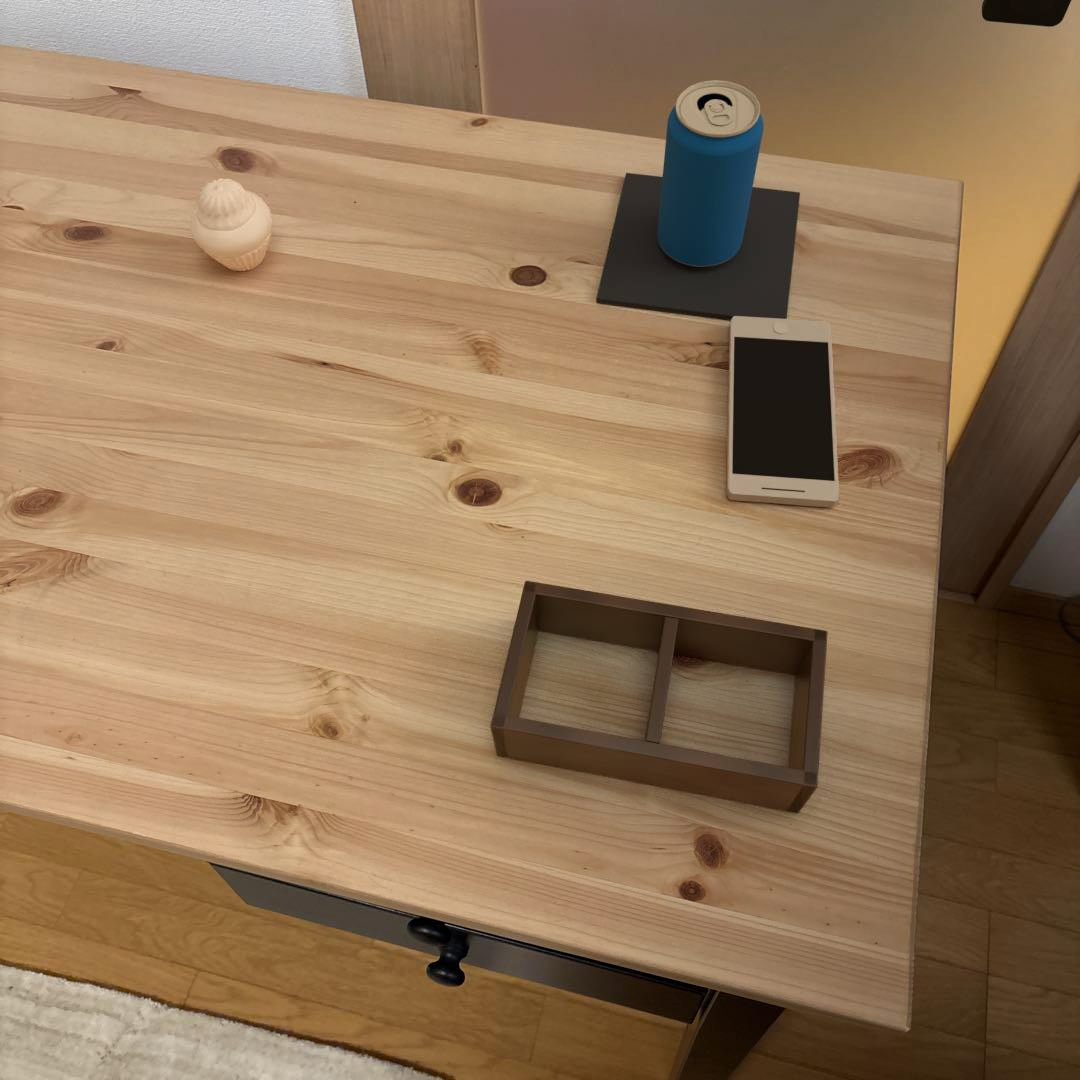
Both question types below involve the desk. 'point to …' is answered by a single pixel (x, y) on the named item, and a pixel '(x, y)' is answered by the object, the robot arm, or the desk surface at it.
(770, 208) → the mat
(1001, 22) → the robot arm
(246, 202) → the muffin
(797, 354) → the smartphone
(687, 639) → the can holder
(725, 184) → the beverage can
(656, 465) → the desk surface
